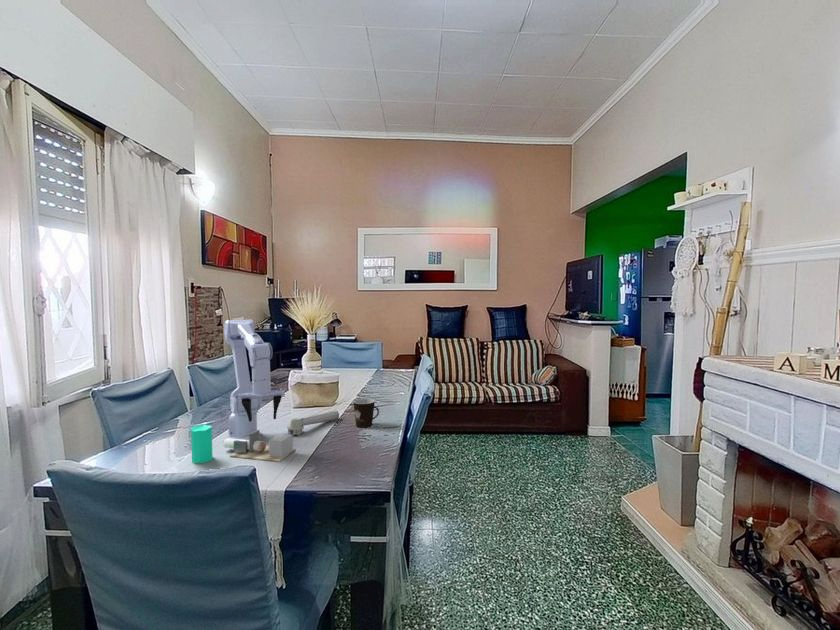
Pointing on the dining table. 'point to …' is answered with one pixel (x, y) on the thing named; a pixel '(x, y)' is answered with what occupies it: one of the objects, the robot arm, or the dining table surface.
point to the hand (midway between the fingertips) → (262, 419)
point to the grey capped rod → (310, 421)
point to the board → (259, 455)
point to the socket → (281, 445)
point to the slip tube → (253, 442)
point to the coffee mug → (364, 412)
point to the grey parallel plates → (241, 446)
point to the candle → (201, 443)
